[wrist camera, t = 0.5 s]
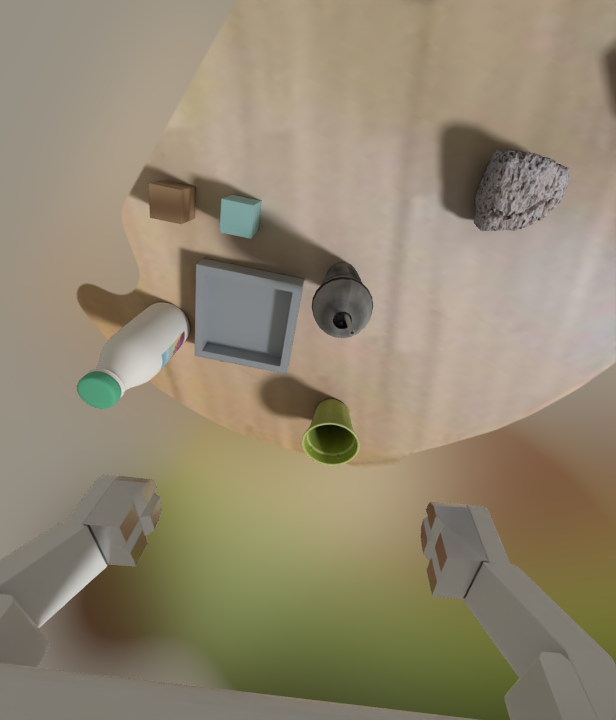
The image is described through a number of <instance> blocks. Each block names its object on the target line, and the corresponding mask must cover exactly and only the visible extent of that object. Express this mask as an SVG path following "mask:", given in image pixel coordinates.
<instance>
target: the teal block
mask: <svg viewBox="0 0 616 720" xmlns="http://www.w3.org/2000/svg"><path fill="white" fill-rule="evenodd" d="M260 211H261V201H260V200H256V199H251V198H246V197H241V196H237V195H230V196H227V197H224V198H222V199H221V216H220V232H221V233H226V234H230V235H235V236H240V237H245V238H250V239H251V238H252V237H253V236H254V235H255V234H256V233H257V232H258V230H259V220H260Z"/></svg>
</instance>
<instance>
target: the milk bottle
mask: <svg viewBox="0 0 616 720" xmlns="http://www.w3.org/2000/svg"><path fill="white" fill-rule="evenodd" d="M189 333H190V324H189V321H188V318H187V317H186V315H185V314H184V313H183V312H182V310H180V309H179V308H178V307H176V306H174V305H172V304H169V303H155V304H152V305H151V306H149V307H148V308H146V309H145V310H144V311H143V312H141V313H140V314H139V315H137V316H136V317H135V318H134V319H132V320H131V321H130V322H129V323H127V324H126V325H125V326H124V327H123V328H121V329H120V330H119V331H118V332H117V333H116V334H114V335H113V336H112V337H111V338H110V339H109V340H108V342H107V343H106V344H105V346H104V347H103V349H102V352H101V354H100V359H99V363H98V365H97V367H96V369H93V370H91V371H90V372H89V373H88V374H87V375H85V376H84V377H83V378H82V379H81V380H80V381H79V383H78V385H77V391H78V394H79V396H80V397H81V398H82V399H83V401H85V402H86V403H87V404H89V405H91V406H93V407H95V408H100V409H106V408H110V407H111V406H113V405H114V404H115V403H116V402H117V401H118V400H119V398H120V397H122V395H123V394H124V391H125V390H127V389H129V388H131V387H135V386H138V385H141V384H143V383H145V382H147V381H149V380H150V379H152V378H153V377H154V376H155V375H156V374H157V373H158V372H159V371H160V370H161V369H162V368H163V367H164V366H165V364H166V363H167V362H168V361H169V360H170V359H171V357H172V356H173V355H174V354H175V353H176V351H177V350H178V349H179V348H180V347H181V345H182V344H183V343H184V342H185V340H186V339H187V338H188V336H189Z"/></svg>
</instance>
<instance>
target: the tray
mask: <svg viewBox="0 0 616 720" xmlns="http://www.w3.org/2000/svg"><path fill="white" fill-rule="evenodd" d="M303 284H304V279H301V278H297V277H292V276H287V275H282V274H277V273H272V272H268V271H263V270H258V269H253V268H248V267H244V266H239V265H234V264H229V263H224V262H219V261H215V260H210V259H205V258H204V259H202V260H201V261H200V262H198V263H197V264H196V302H195V356H199V357H204V358H209V359H214V360H219V361H224V362H229V363H234V364H239V365H244V366H249V367H254V368H259V369H264V370H268V371H273V372H278V373H283V374H286V373H287V369H288V365H289V360H290V355H291V349H292V344H293V339H294V333H295V328H296V322H297V317H298V311H299V306H300V301H301V295H302V290H303Z"/></svg>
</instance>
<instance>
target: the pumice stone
mask: <svg viewBox="0 0 616 720" xmlns="http://www.w3.org/2000/svg"><path fill="white" fill-rule="evenodd" d="M568 184H569V171H568V168H567V167H565V166H562V165H560V164H556V162H555V160H552V159H550V158H548V157H542V156H540V155H538V154H535V153H530V152H526V153H522V152H521V151H513V150H508V151H505V150H498V149H496V150H495V151H494V153H493V155H492V157H491V160H490V161H489V162H488V166H487V170H486V171H485V173H484V175H483V177H482V179H481V182H480V186H479V190H478V191H477V195H476V197H475V203H476V215H475V217H474V224H475V225H476V226H477V227H478V228H479V229H480V230H481V231H484V230H485V231H493V230H494V231H497V230H505V229H506V230H514V231H515V230H518V229H522V228H524V227H527V226H529V225H531V224H534V223H536V222H537V221H538V220H542V219H543V218H544V217H547V215H548V214H549V213H550V212H551V211H552V209H554V208H555V207H556V206H557V205H558V204H559V203H560V201H561V200H562V198H563V195H564V194H565V190H566V188H567V186H568Z"/></svg>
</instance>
